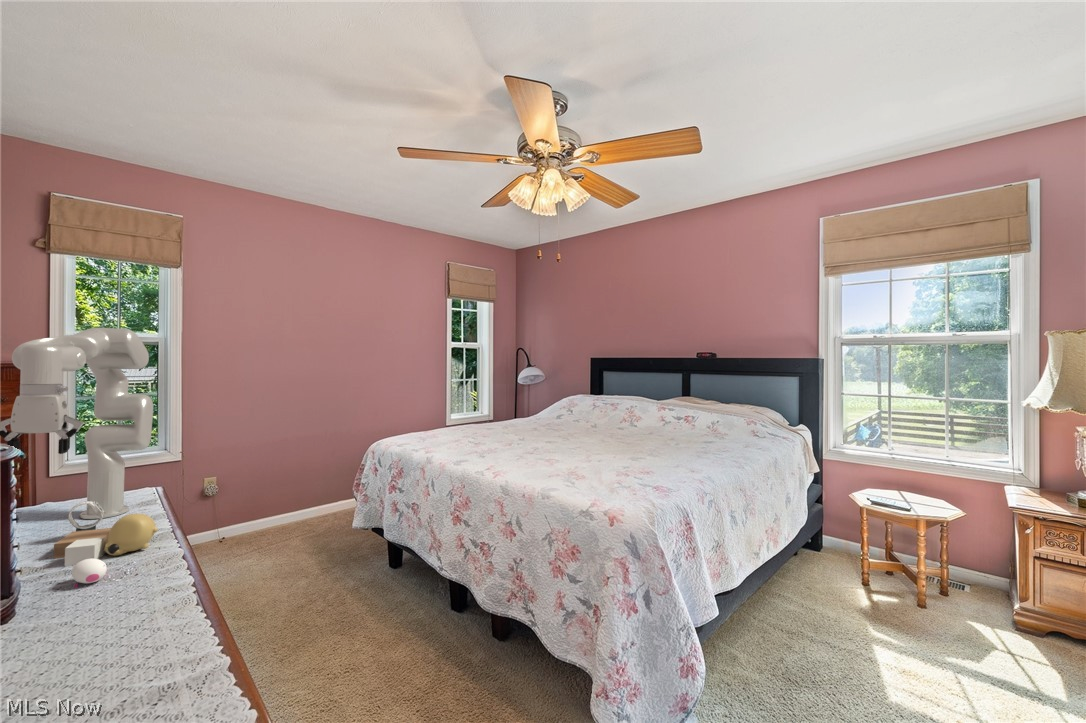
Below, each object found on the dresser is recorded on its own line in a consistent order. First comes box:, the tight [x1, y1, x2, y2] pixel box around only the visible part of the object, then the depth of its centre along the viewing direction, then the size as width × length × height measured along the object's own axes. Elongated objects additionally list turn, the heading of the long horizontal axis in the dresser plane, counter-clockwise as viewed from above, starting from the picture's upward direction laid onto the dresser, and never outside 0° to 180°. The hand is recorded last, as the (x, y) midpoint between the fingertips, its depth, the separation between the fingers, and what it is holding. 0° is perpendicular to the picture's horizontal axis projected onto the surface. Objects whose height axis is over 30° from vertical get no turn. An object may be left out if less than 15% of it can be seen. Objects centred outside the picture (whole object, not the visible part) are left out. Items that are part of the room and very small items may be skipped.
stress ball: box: [70, 558, 108, 588], centre depth 115 cm, size 8×8×7 cm
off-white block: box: [64, 537, 105, 567], centre depth 126 cm, size 6×6×5 cm
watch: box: [67, 500, 105, 531], centre depth 141 cm, size 6×8×11 cm
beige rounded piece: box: [104, 513, 159, 557], centre depth 133 cm, size 10×12×11 cm
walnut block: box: [53, 527, 112, 560], centre depth 133 cm, size 10×10×4 cm
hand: (39, 453), depth 123 cm, fingers open, 9 cm apart
